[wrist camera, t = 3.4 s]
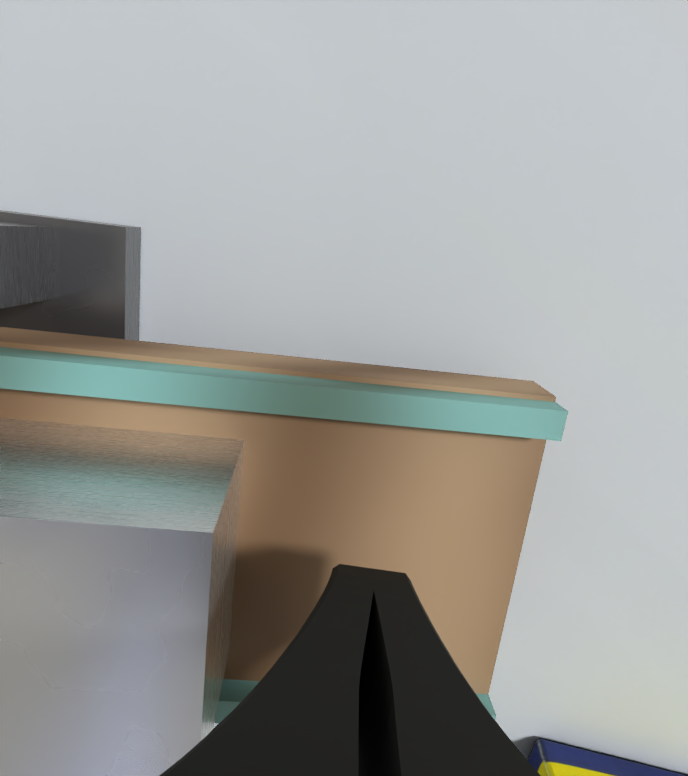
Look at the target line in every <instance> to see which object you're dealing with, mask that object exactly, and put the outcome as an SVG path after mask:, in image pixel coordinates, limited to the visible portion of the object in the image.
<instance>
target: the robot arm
mask: <svg viewBox="0 0 688 776" xmlns="http://www.w3.org/2000/svg"><path fill="white" fill-rule="evenodd" d="M160 776H541V775H540V774H539V773H538V772H537V771H536V770H535V769H534V767H533V766H532V765H531V764H530V763H529V762H528V761H527V759H526V758H525V757H524V756H523V755H522V754H521V753H520V751H519V750H518V749H517V748H516V746H515V745H514V744H513V743H512V741H511V740H510V739H509V738H508V736H507V735H506V734H505V733H504V731H503V730H502V729H501V728H500V726H499V725H498V724H497V722H496V721H495V720H494V718H493V717H492V716H491V714H490V713H489V712H488V710H487V709H486V708H485V706H484V705H483V703H482V702H481V701H480V699H479V698H478V696H477V695H476V693H475V692H474V690H473V689H472V688H471V686H470V685H469V683H468V682H467V680H466V679H465V677H464V676H463V674H462V673H461V671H460V670H459V668H458V666H457V665H456V663H455V662H454V660H453V658H452V657H451V655H450V653H449V652H448V650H447V648H446V647H445V645H444V643H443V642H442V640H441V638H440V637H439V635H438V633H437V632H436V630H435V628H434V626H433V624H432V623H431V621H430V619H429V617H428V615H427V613H426V611H425V609H424V607H423V606H422V604H421V602H420V600H419V597H418V595H417V593H416V591H415V589H414V587H413V585H412V582H411V580H410V579H409V577H408V576H407V575H406V573H401V572H394V571H387V570H380V569H373V568H366V567H358V566H351V565H344V564H339V565H337V566H336V567H334V568H333V569H332V573H331V576H330V578H329V581H328V583H327V585H326V588H325V590H324V592H323V593H322V595H321V597H320V599H319V601H318V602H317V604H316V606H315V608H314V609H313V611H312V612H311V614H310V615H309V617H308V618H307V620H306V621H305V623H304V625H303V626H302V628H301V629H300V631H299V632H298V634H297V635H296V636H295V638H294V639H293V640H292V642H291V643H290V644H289V646H288V647H287V648H286V650H285V651H284V652H283V653H282V655H281V656H280V657H279V659H278V660H277V661H276V663H275V664H274V665H273V666H272V668H271V669H270V670H269V671H268V672H267V674H266V675H265V676H264V677H263V678H262V679H261V681H260V682H259V683H258V684H257V685H256V686H255V687H254V689H253V690H252V691H251V692H250V693H249V694H248V695H247V696H246V697H245V698H244V699H243V700H242V701H241V702H240V704H239V705H238V706H237V707H236V708H235V709H234V710H233V711H232V712H231V713H230V714H229V715H228V716H227V717H225V718H224V719H223V720H222V721H221V722H220V723H219V724H218V725H217V726H216V727H215V728H214V729H213V730H212V731H211V732H210V733H209V734H208V735H207V736H206V737H205V738H204V739H202V740H201V741H200V742H199V743H198V744H197V745H196V746H195V747H194V748H192V749H191V750H190V751H189V752H188V753H187V754H186V755H184V756H183V757H182V758H181V759H180V760H178V761H177V762H176V763H175V764H173V765H172V766H171V767H170V768H168V769H167V770H166V771H165V772H163V773H162V774H161V775H160Z"/></svg>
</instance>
